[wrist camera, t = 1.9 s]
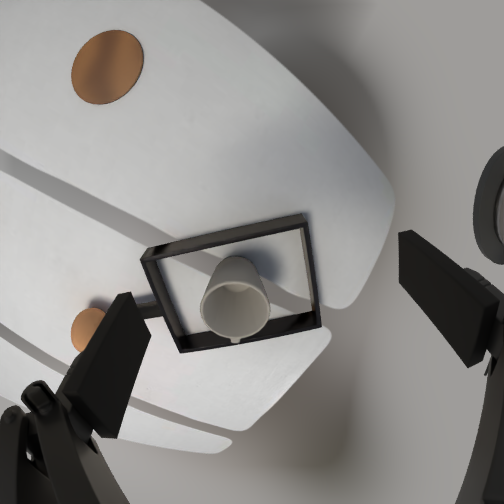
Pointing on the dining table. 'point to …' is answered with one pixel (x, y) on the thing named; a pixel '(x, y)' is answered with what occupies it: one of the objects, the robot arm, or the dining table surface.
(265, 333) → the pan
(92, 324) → the egg
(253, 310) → the cup
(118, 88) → the coaster
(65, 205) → the dining table surface
